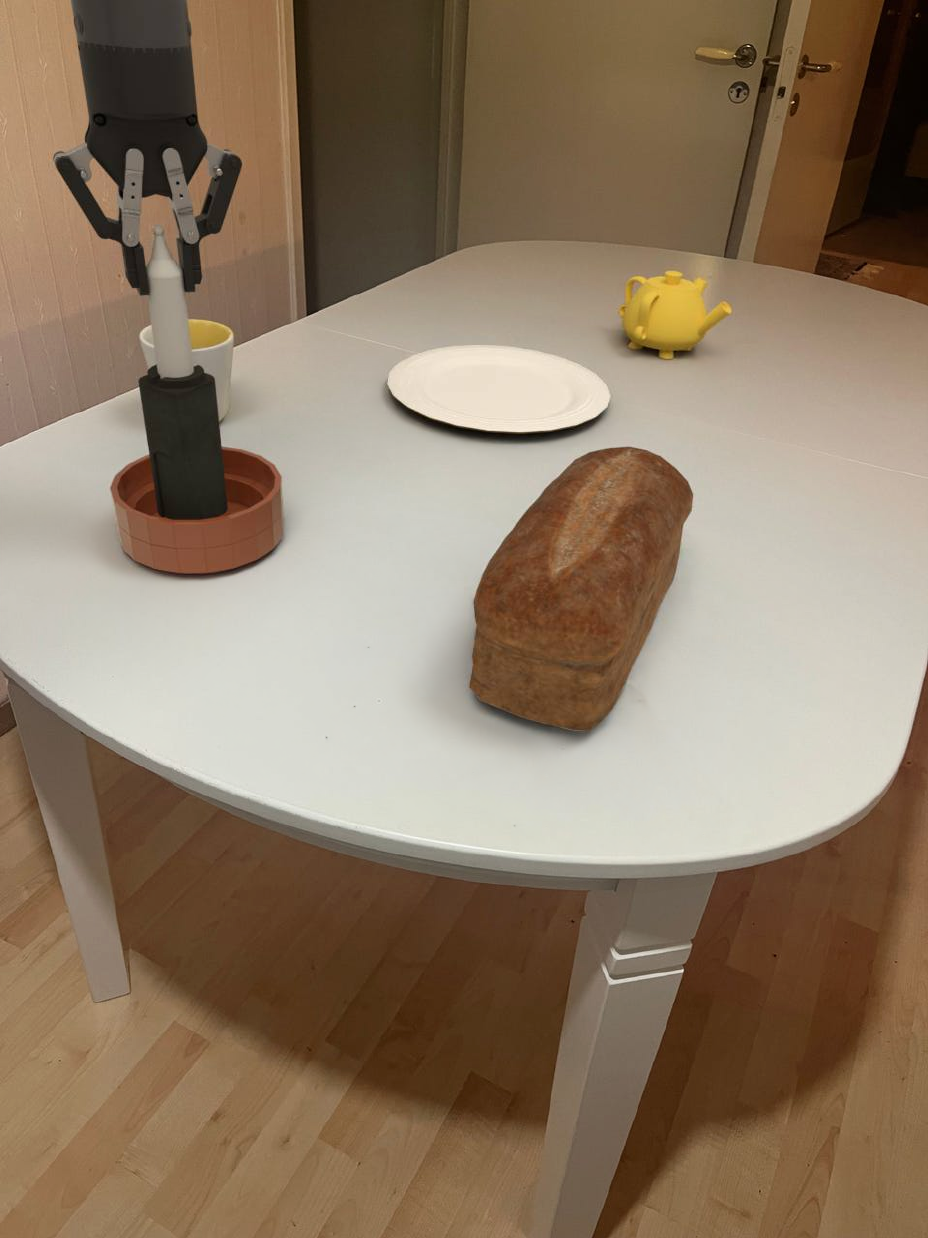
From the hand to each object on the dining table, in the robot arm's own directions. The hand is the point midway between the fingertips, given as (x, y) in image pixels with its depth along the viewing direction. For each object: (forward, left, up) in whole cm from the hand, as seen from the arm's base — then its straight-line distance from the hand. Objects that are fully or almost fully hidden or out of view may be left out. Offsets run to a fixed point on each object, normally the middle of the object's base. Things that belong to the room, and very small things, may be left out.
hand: (165, 289), depth 74 cm
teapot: (+78, +35, -24) cm, 89 cm away
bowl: (+1, +2, -24) cm, 24 cm away
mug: (+7, +30, -24) cm, 39 cm away
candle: (0, 0, -20) cm, 20 cm away
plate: (+44, +25, -24) cm, 56 cm away
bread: (+28, -24, -24) cm, 44 cm away
